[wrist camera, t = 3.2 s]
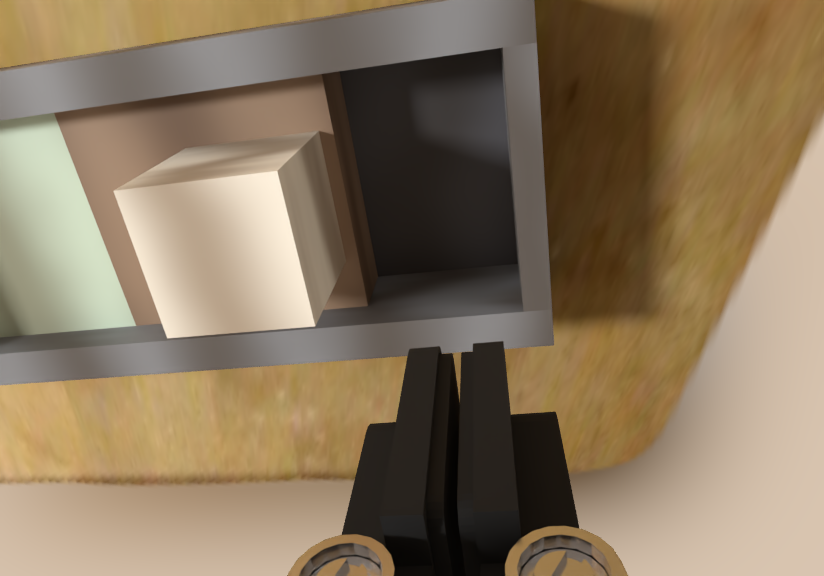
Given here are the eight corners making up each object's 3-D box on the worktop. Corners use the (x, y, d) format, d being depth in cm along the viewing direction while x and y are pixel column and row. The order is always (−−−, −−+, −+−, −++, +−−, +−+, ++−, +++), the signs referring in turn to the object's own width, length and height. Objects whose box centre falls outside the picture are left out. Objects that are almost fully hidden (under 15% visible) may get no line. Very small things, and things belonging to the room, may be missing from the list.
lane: (524, -16, 22) (537, -12, 17) (543, 290, 27) (558, 368, 22) (-114, 86, 26) (-268, 115, 21) (9, 336, 31) (-89, 411, 26)
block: (318, 130, 22) (277, 170, 17) (346, 261, 24) (315, 326, 20) (185, 148, 23) (112, 190, 18) (223, 273, 25) (167, 338, 20)
